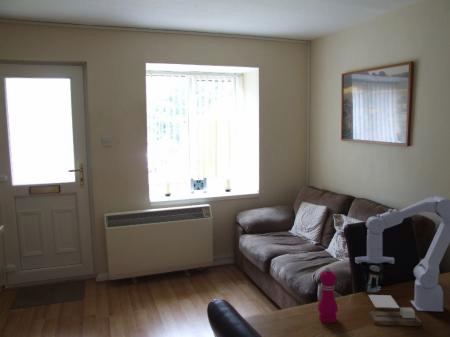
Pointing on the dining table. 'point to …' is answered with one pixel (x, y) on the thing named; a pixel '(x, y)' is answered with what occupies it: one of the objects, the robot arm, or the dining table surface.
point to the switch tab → (407, 312)
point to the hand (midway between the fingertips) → (374, 280)
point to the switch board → (392, 319)
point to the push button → (373, 279)
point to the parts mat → (383, 301)
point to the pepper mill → (327, 297)
